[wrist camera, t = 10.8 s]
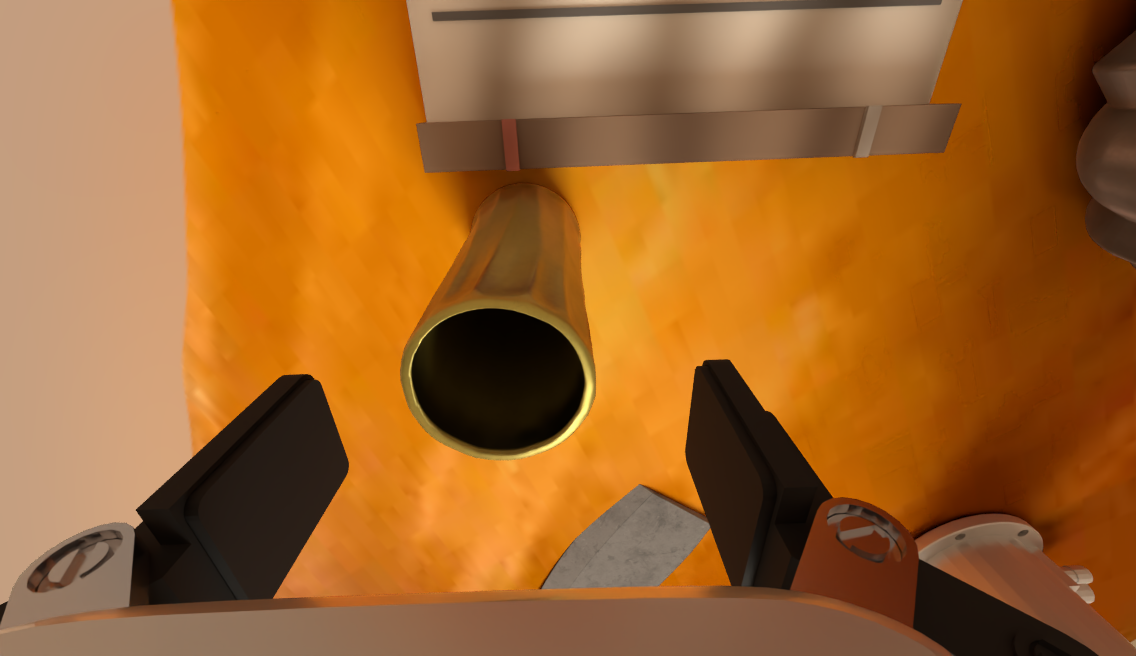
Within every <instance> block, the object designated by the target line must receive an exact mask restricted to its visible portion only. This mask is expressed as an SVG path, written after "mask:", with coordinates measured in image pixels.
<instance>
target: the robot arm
mask: <svg viewBox="0 0 1136 656" xmlns="http://www.w3.org/2000/svg"><path fill="white" fill-rule="evenodd" d="M685 453H686V461H687V465H688V467H689V470H690V473H691V476H692V478H693V481H694V484H695V487H696V489H697V492H698V495H699V498H700V500H701V503H702V506H703V509H704V511H705V514H706V517H707V520H708V522H709V525H710V528H711V531H712V533H713V536H714V539H715V542H716V544H717V547H718V550H719V553H720V555H721V558H722V561H723V564H724V566H725V569H726V572H727V575H728V577H729V580H730V583H731V586H648V587H607V588H572V589H537V590H503V591H473V592H443V593H414V594H386V595H357V596H332V597H307V598H282V599H273V597H274V595H275V594H276V592H277V590H278V589H279V587H280V585H281V584H282V582H283V580H284V579H285V577H286V575H287V574H288V572H289V570H290V569H291V567H292V565H293V564H294V562H295V560H296V559H297V557H298V555H299V554H300V552H301V550H302V549H303V547H304V545H305V544H306V542H307V540H308V539H309V537H310V535H311V534H312V532H313V530H314V529H315V527H316V525H317V524H318V522H319V520H320V519H321V517H322V515H323V514H324V512H325V510H326V509H327V507H328V505H329V504H330V502H331V500H332V499H333V497H334V495H335V494H336V492H337V490H338V489H339V487H340V486H341V484H342V482H343V481H344V479H345V477H346V475H347V473H348V468H349V462H348V458H347V455H346V453H345V450H344V447H343V444H342V441H341V439H340V436H339V433H338V430H337V427H336V425H335V422H334V419H333V416H332V413H331V411H330V408H329V405H328V402H327V399H326V397H325V394H324V391H323V388H322V385H321V383H320V382H319V381H318V380H314V378H313V377H312V376H311V375H308V374H300V375H283V376H281V377H280V378H278V379H277V380H276V381H275V382H274V383H273V384H272V385H271V386H270V387H269V388H268V389H266V390H265V391H264V392H263V393H262V394H261V395H260V396H259V397H258V398H257V399H256V400H255V401H253V402H252V403H251V404H250V405H249V406H248V407H247V408H246V409H245V410H244V411H243V412H241V413H240V414H239V415H238V416H237V417H236V418H235V419H234V420H233V421H232V422H231V423H230V424H228V425H227V426H226V427H225V428H224V429H223V430H222V431H221V432H220V433H219V434H218V435H217V436H215V437H214V438H213V439H212V440H211V441H210V442H209V443H208V444H207V445H206V446H205V447H203V448H202V449H201V450H200V451H199V452H198V453H197V454H196V455H195V456H194V457H193V458H192V459H190V461H188V462H187V463H186V464H185V465H184V466H183V467H182V468H181V469H180V470H179V471H178V472H176V473H175V474H174V475H173V476H172V477H171V478H170V479H169V480H168V481H167V482H166V483H164V485H162V486H161V487H160V488H159V489H158V490H157V491H156V492H155V493H154V494H153V495H151V496H150V497H149V498H148V499H147V500H146V501H145V502H144V503H143V504H142V505H140V506H139V507H138V508H137V509H136V511H137V512H138V514H139V515H140V517H141V518H142V520H143V522H142V523H141V524H140V525H139V526H137V527H136V529H134V528H133V527H132V526H131V525H129V524H127V523H110V524H105V525H100V526H97V527H94V528H91V529H88V530H85V531H83V532H81V533H79V534H77V535H75V536H72V537H70V538H68V539H66V540H65V541H63V542H61V543H59V544H58V545H56V546H55V547H53V548H51V549H50V550H49V551H47V552H46V553H44V554H43V555H42V556H40V557H39V558H38V559H37V560H35V561H34V562H33V563H31V565H30V566H29V567H28V568H27V569H26V570H25V571H24V572H23V573H22V574H21V575H20V576H19V578H18V580H17V581H16V583H15V585H14V586H13V588H12V592H11V595H10V597H9V601H7V602H5V603H3V604H1V605H0V656H1136V648H1135V647H1134V646H1133V645H1132V644H1131V643H1130V642H1129V641H1128V640H1127V639H1125V638H1124V637H1123V636H1122V635H1121V634H1120V633H1119V632H1118V631H1117V630H1116V629H1115V628H1113V627H1112V626H1111V625H1110V624H1109V623H1108V622H1107V621H1106V620H1105V619H1104V618H1103V617H1102V616H1100V615H1099V614H1098V613H1097V612H1096V611H1095V610H1094V609H1093V608H1092V607H1091V606H1090V605H1089V604H1087V603H1092V602H1093V601H1094V598H1095V596H1094V593H1093V591H1092V589H1091V588H1090V587H1089V586H1088V585H1087V584H1086V583H1091V582H1092V581H1093V577H1092V574H1091V573H1090V572H1089V570H1088V569H1086V568H1085V567H1083V566H1080V565H1069V566H1062V567H1058V566H1057V565H1056V564H1055V563H1054V562H1053V561H1052V560H1051V559H1049V558H1048V557H1047V556H1046V555H1045V554H1044V553H1043V552H1042V550H1043V539H1042V537H1041V536H1040V534H1039V532H1037V531H1036V530H1035V529H1034V528H1033V527H1032V526H1031V525H1030V524H1028V523H1027V522H1026V521H1024V520H1022V519H1020V518H1019V517H1015V516H1011V515H1006V514H980V515H975V516H969V517H965V518H961V519H958V520H954V521H951V522H949V523H946V524H944V525H941V526H939V527H937V528H935V529H933V530H931V531H929V532H927V533H925V534H924V535H922V536H920V537H919V538H917V539H916V540H914V539H913V537H912V535H911V534H910V532H909V531H908V530H907V529H906V528H905V527H904V526H903V525H902V524H901V523H900V522H899V521H898V520H897V519H895V518H894V517H892V516H891V515H890V514H888V513H887V512H886V511H884V510H882V509H880V508H878V507H876V506H874V505H872V504H870V503H867V502H864V501H861V500H858V499H852V498H844V497H841V498H833V497H832V496H831V494H830V493H829V492H828V490H827V489H826V487H825V486H824V485H823V483H822V482H821V480H820V479H819V478H818V476H817V475H816V473H815V472H814V471H813V469H812V468H811V466H810V465H809V464H808V462H807V461H806V459H805V458H804V457H803V455H802V454H801V452H800V451H799V450H798V448H797V447H796V445H795V444H794V443H793V441H792V440H791V438H790V437H789V436H788V434H787V433H786V431H785V430H784V429H783V427H782V426H781V424H780V423H779V422H778V420H777V419H776V417H775V416H774V415H773V414H772V413H771V412H768V411H765V410H764V409H763V407H762V406H761V404H760V403H759V401H758V400H757V399H756V397H755V396H754V394H753V393H752V391H751V390H750V389H749V387H748V386H747V384H746V383H745V381H744V380H743V378H742V377H741V376H740V374H739V373H738V371H737V370H736V368H735V367H734V365H733V364H732V363H731V361H730V360H727V359H725V360H705V361H704V362H703V365H702V366H697V367H696V369H695V375H694V383H693V391H692V399H691V408H690V416H689V424H688V432H687V440H686V449H685Z"/></svg>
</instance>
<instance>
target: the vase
mask: <svg viewBox="0 0 1136 656" xmlns="http://www.w3.org/2000/svg"><path fill="white" fill-rule="evenodd" d="M580 240H581V235H580V229H579V225H578V222H577V219H576V217H575V215H574V213H573V211H572V209H571V208H570V206H569V205H568V204H567V202H566V201H565V200H564V199H563V198H561V197H560V196H559V195H558V194H556V193H555V192H553V191H551V190H549V189H547V188H545V187H543V186H540V185H536V184H530V183H519V184H512V185H508V186H505V187H502V188H500V189H498V190H497V191H495V192H493V193H492V194H491V195H490V196H488V197H487V198H486V199H485V200H484V201H483V202H482V204H481V205H480V206H479V208H478V210H477V212H476V213H475V216H474V219H473V222H472V227H471V231H470V235H469V237H468V238H467V240H466V241H465V243H464V245H463V246H462V248H461V250H460V252H459V253H458V255H457V257H456V259H455V261H454V263H453V265H452V266H451V268H450V270H449V271H448V273H447V275H446V276H445V278H444V280H443V281H442V283H441V285H440V286H439V288H438V289H437V291H436V293H435V294H434V296H433V298H432V299H431V301H430V303H429V305H428V307H427V309H426V310H425V312H424V314H423V316H422V317H421V319H420V321H419V323H418V325H417V326H416V328H415V330H414V331H413V333H412V335H411V336H410V338H409V340H408V342H407V344H406V346H405V348H404V352H403V356H402V361H401V369H400V377H401V384H402V387H403V391H404V395H405V398H406V401H407V404H408V407H409V409H410V411H411V412H412V414H413V416H414V417H415V418H416V420H417V421H418V422H419V424H420V425H421V426H422V427H423V428H424V430H425V431H426V432H427V433H429V434H430V435H431V436H432V437H433V438H435V439H436V440H437V441H439V442H441V443H443V444H444V445H446V446H448V447H451V448H453V449H455V450H457V451H459V452H462V453H464V454H466V455H469V456H472V457H475V458H481V459H488V460H515V459H522V458H526V457H530V456H533V455H536V454H539V453H542V452H544V451H547V450H549V449H551V448H553V447H555V446H557V445H559V444H560V443H562V442H563V441H565V440H566V439H567V438H568V437H569V436H571V435H572V434H573V433H574V432H575V430H576V429H577V428H578V427H579V426H580V425H581V423H582V422H583V421H584V419H585V418H586V417H587V415H588V414H589V411H590V409H591V407H592V405H593V402H594V399H595V394H596V371H595V363H594V358H593V351H592V343H591V337H590V330H589V324H588V318H587V313H586V308H585V295H584V288H583V282H582V274H581V246H580Z"/></svg>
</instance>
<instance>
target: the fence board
mask: <svg viewBox="0 0 1136 656" xmlns="http://www.w3.org/2000/svg"><path fill="white" fill-rule="evenodd" d="M962 1H963V0H406V2H407V8H408V14H409V20H410V26H411V31H412V37H413V43H414V49H415V55H416V61H417V67H418V73H419V79H420V84H421V90H422V96H423V102H424V108H425V114H426V120H427V122H426V123H418V124H416V126H417V131H418V137H419V142H420V148H421V153H422V159H423V164H424V170H425V173H429V172H455V171H480V170H506V171H520V169H532V168H557V167H583V166H609V165H634V164H660V163H685V162H711V161H737V160H762V159H788V158H814V157H839V156H853V157H855V158H857V157H868V156H869V155H890V154H916V153H942V152H944V151H945V148H946V146H947V143H948V140H949V137H950V134H951V132H952V129H953V126H954V123H955V121H956V118H957V115H958V112H959V109H960V107H961V104H929V102H930V99H931V96H932V93H933V90H934V87H935V84H936V81H937V78H938V75H939V72H940V69H941V66H942V63H943V59H944V56H945V53H946V50H947V47H948V44H949V41H950V38H951V35H952V32H953V29H954V26H955V23H956V20H957V17H958V13H959V10H960V7H961V4H962Z"/></svg>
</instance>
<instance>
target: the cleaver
mask: <svg viewBox="0 0 1136 656" xmlns="http://www.w3.org/2000/svg"><path fill="white" fill-rule="evenodd" d="M709 529H710V525H709V522H708V520H707V517H705V516H703V515H701V514H699V513H697V512H695V511H693V510H691V509H689V508H687V507H685V506H683V505H681V504H679V503H677V502H675V501H673V500H671V499H669V498H667V497H665V496H663V495H661V494H659V493H657V492H655V491H653V490H651V489H649V488H647V487H645V486H643V485H641V484H639V485H638V486H637V487H636V488H634V489H633V490H632V491H631V492H629V493H628V494H627V495H626V496H624V497H623V498H622V499H621V500H620V501H618V502H617V503H616V504H615V505H613V506H612V507H611V508H610V509H609V510H607V511H606V512H605V513H604V514H603V515H601V516H600V517H599V518H598V519H597V520H596V521H595V522H593V523H592V524H591V525H590V526H589V527H588V528H587V529H586V530H585V531H583V532H582V533H581V534H580V535H579V536H578V537H577V538H576V539H575V540H574V541H573V542H572V543H571V545H570V546H569V547H568V549H567V550H566V551H565V553H564V554H563V555H562V557H561V558H560V560H559V561H558V563H557V564H556V565H555V567H554V569H553V570H552V572H551V573H550V575H549V577H548V578H547V580H546V582H545V583H544V585H543V587H542V589H572V588H607V587H648V586H659V585H660V584H661V583H662V582H663V581H664V580H665V579H666V578H667V577H668V576H669V575H670V574H671V573H672V572H673V571H674V570H675V569H676V568H677V567H678V566H679V565H680V564H681V563H682V562H683V560H684V559H685V558H686V557H687V556H688V555H689V554H690V553H691V552H692V550H693V549H694V548H695V547H696V546H697V544H698V543H699V542H700V541H701V539H702V538H703V537H704V535H705V534H706V533H707V531H708V530H709Z"/></svg>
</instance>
